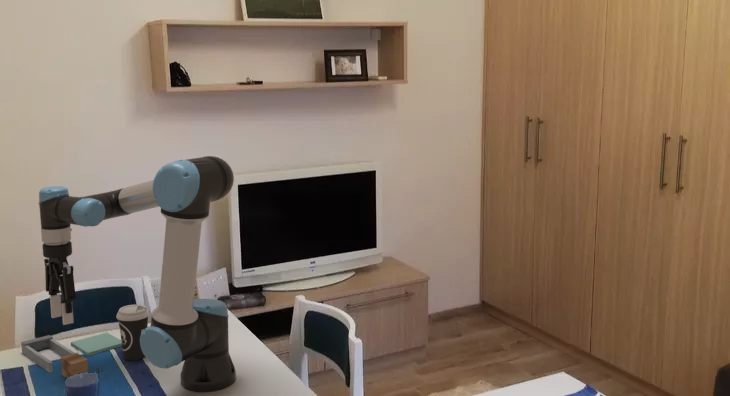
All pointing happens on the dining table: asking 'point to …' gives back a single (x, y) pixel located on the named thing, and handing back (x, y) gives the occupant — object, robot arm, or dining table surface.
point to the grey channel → (41, 343)
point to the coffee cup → (132, 329)
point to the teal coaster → (97, 344)
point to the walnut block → (73, 365)
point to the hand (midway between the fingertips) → (62, 320)
